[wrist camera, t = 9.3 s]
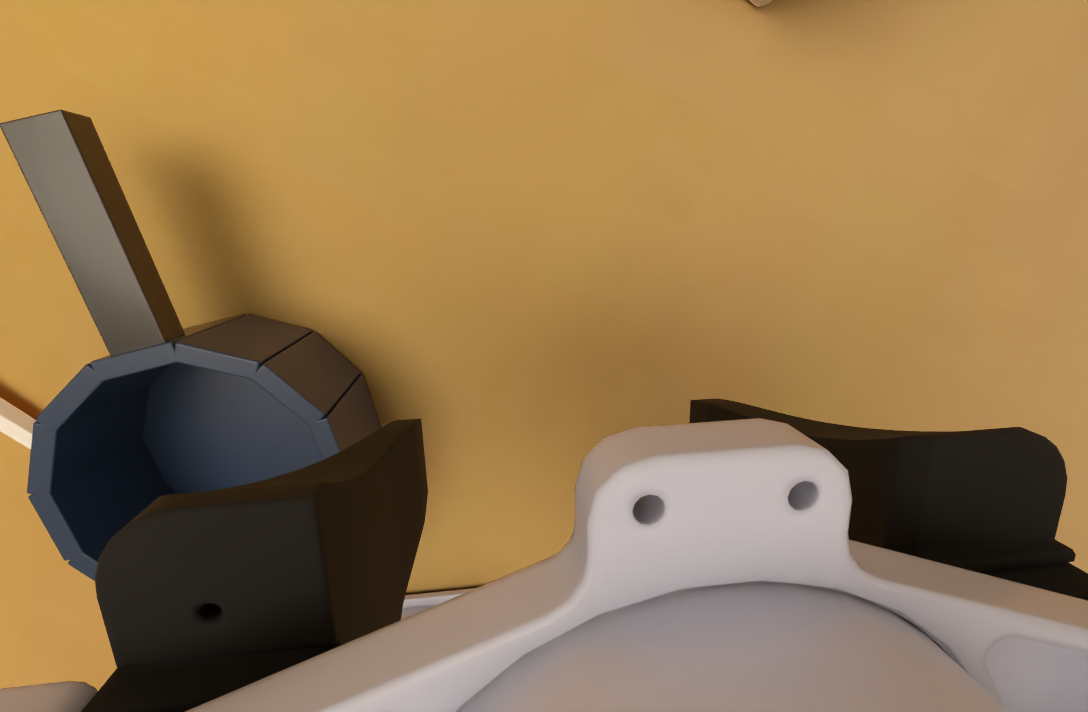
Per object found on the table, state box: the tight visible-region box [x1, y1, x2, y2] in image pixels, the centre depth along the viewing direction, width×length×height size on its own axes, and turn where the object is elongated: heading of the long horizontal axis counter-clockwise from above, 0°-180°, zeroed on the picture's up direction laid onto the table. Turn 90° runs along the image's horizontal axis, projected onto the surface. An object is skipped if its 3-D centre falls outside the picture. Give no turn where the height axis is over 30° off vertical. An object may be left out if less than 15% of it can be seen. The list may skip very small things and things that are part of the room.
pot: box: [0, 110, 381, 581], centre depth 20 cm, size 17×10×6 cm, turn 13°
